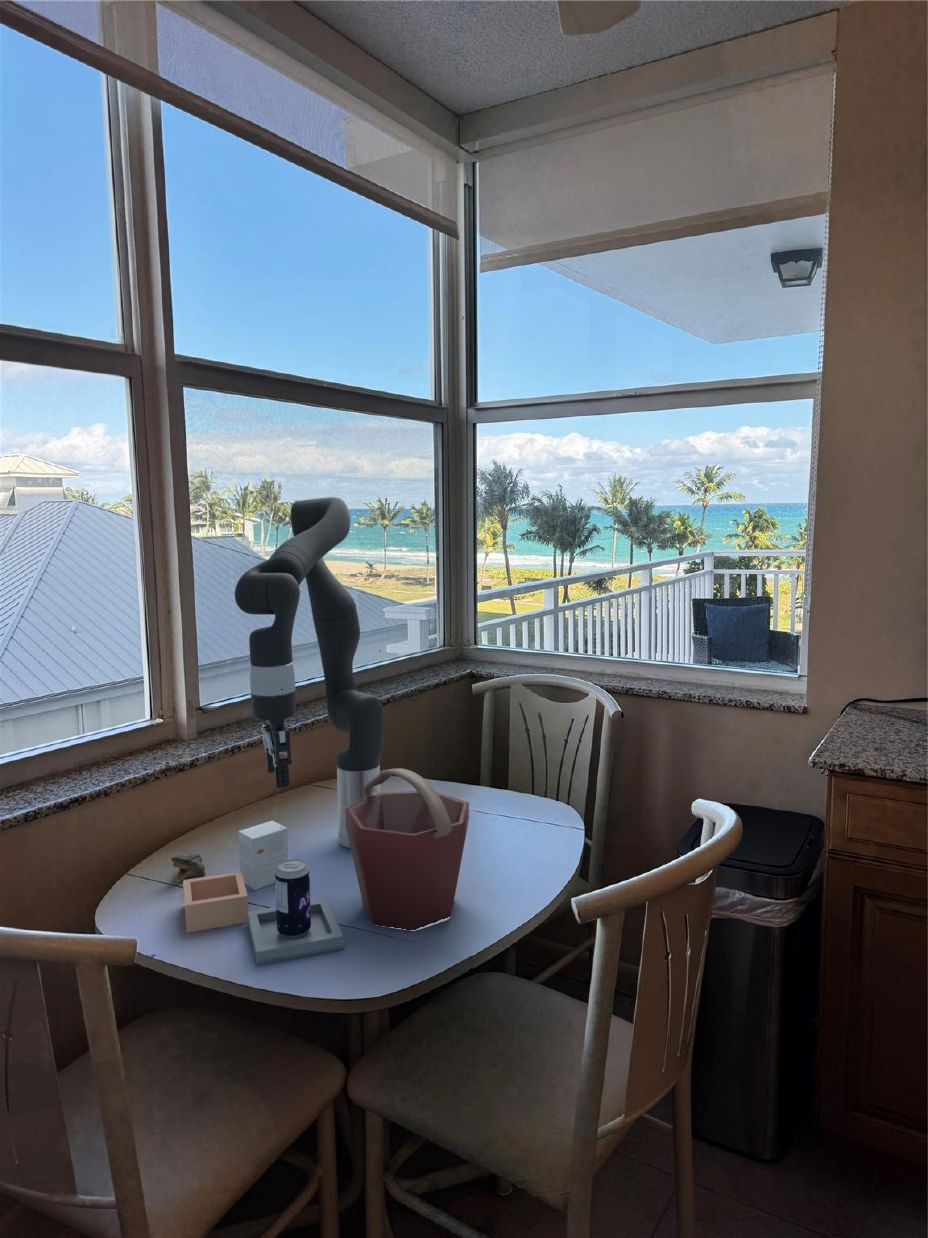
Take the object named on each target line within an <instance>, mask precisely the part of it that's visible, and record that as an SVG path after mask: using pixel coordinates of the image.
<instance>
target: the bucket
mask: <svg viewBox="0 0 928 1238" xmlns="http://www.w3.org/2000/svg"><path fill="white" fill-rule="evenodd" d="M392 776H395V777H398V778H401V779H402V780H405V781H406V782H407V783H408V784H410V785H412V786H413V788H414V789H415V790H407V791H405V790H402V791H384V792H382V791H381V792H380V793H378V792H377V791H376V789H375V787H374V786H376V785H379V784H380V785H382V784H384V783H385V782H386V781H388V780H390V778H391V777H392ZM363 793H364V796H365V798H366V799H365V800H363V801H361V802H359V803H357V804H355V805H353V806H351V807H349V808H347V809H345V818H346V829H347V833H348V838H349V842H350V847H351V848H350V850H351V855H352V859H353V860H352V861H353V864H354V869H355V873H356V878H357V882H358V887H359V893H360V897H361V900H362V905H363V908H364V910H365V912H366V911H367V912H366V914H367V915H368V917H369V919H370V921H371V920H372V921H371V922H372V924H374V925H378V926H377V927H380V926H385V927H384V928H386V927H394V928H401V929H406V930H416V929H418V928H420V927H424V926H426V925H428V924H431V923H435V922H437V921H439V920H441V919H445V918H448V917H450V916H451V917H452V912H453V907H454V903H455V898H456V890H457V886H458V882H459V875H460V870H461V865H462V859H463V854H464V848H465V843H466V836H467V832H468V827H469V826H468V825H469V822H470V821H469V820H470V802H468V801H465V800H462V799H460V798H457V797H452V796H450V795H447V794H443V793H441V792H437V791H436V790H435V789H434V787H433V786H432V785H431V784H430V782H429V781H428V780H426V779H425V778H423V777H422V776H421V775H419V774H418V773H416V772H414V771H412V770H410V769H406V768H402V767H400V768H390V769H383V770H380V773H379V774H378V775H377V776H376V777H375V778H373V779H372V780H371V781H369V782H368V783H367V784H366V785H365V786H364V787H363ZM374 925H373V926H374Z"/></svg>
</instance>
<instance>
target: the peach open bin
mask: <svg viewBox="0 0 928 1238" xmlns="http://www.w3.org/2000/svg"><path fill="white" fill-rule="evenodd" d="M182 884H183V887H182V889H183V902H184V903H183V905H184V908H183V909H184V917H185V918H184V920H185V931H186V932H185V933H186V934H190V933H196V932H201V931H207V930H212V928H214V929H218V928H217V927H219V928H224V927H229V926H235V925H242V924H241V923H243V924H248V916H247V912H249V902H248V900H249V899H248V898H249V897H248V896H249V895H248V892H247V888H246V885H245V884H244V879H243V875H242V871H241V872H240V871H235V872H231V873H230V872H227V873H224V874H217V875H209V876H201V877H196V878H190V879H184V880H183V881H182Z"/></svg>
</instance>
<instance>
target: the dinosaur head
mask: <svg viewBox="0 0 928 1238" xmlns="http://www.w3.org/2000/svg"><path fill="white" fill-rule="evenodd" d="M170 860H171V862H172V868H174V869H178V871H177V874H176V875H175V877H174V878H173V882H174V883H175V884H179V883H182V882H183V880H186V878H187V877H196V876H199V877H205V876H206V872H205V869H206V867H205V865H204V864H203V862H202V861H203V858H202V856H201V855H200V854H198V853H197V854H196V853H195V854H189V855H182V854H181V855H175V856H174V857H173V856H172V857H171V858H170Z"/></svg>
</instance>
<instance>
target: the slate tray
mask: <svg viewBox="0 0 928 1238" xmlns="http://www.w3.org/2000/svg"><path fill="white" fill-rule="evenodd" d="M310 908H311V927H310V929H309V930H308V931H307V932H306V933H305V934H304V935H303V936H301V937H298V938H286V937H284V936H283V935H282V934H281V933H279V932H278V931H277V913H276V906H274V907H269V908H262V909H257V910H252V911H251V910H249V911H248V912H247V916H248V923H247V927H248V928H247V929H248V931H249V935H250V940H251V945H252V950H253V955H254V958H255V962H256V966H257V967H258V966H264V965H269V964H274V963H279V962H286V961H290V960H295V959H300V958H301V959H302V958H306V957H311V956H316V955H321V954H326V953H327V954H328V953H332V952H338V951H342V950H344V949H345V948H344V946H345V945H344V944H345V943H344V933H343V932H342V930H341V928H340V925H339V923H338V920H337V919H336V916H335V914H334V912H333V909H332V907H331V905H330V902H329V901H328V899H327V898H323V899H322V898H321V899H317V900H310Z"/></svg>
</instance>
